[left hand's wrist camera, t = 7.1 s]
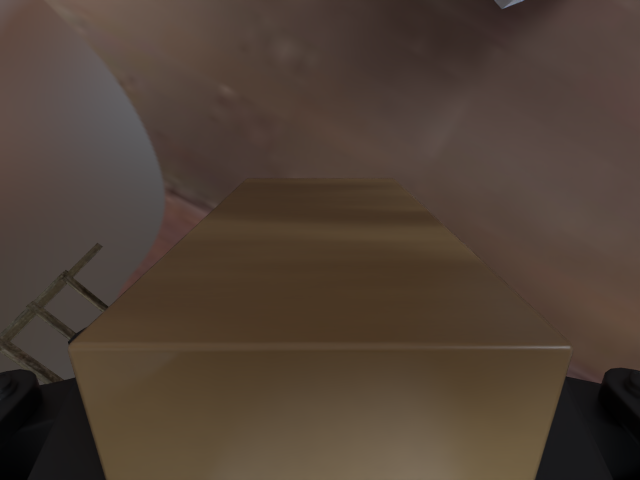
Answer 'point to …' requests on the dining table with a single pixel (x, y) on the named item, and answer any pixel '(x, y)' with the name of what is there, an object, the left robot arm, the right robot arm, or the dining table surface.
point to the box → (320, 348)
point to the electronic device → (506, 3)
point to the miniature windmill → (46, 319)
